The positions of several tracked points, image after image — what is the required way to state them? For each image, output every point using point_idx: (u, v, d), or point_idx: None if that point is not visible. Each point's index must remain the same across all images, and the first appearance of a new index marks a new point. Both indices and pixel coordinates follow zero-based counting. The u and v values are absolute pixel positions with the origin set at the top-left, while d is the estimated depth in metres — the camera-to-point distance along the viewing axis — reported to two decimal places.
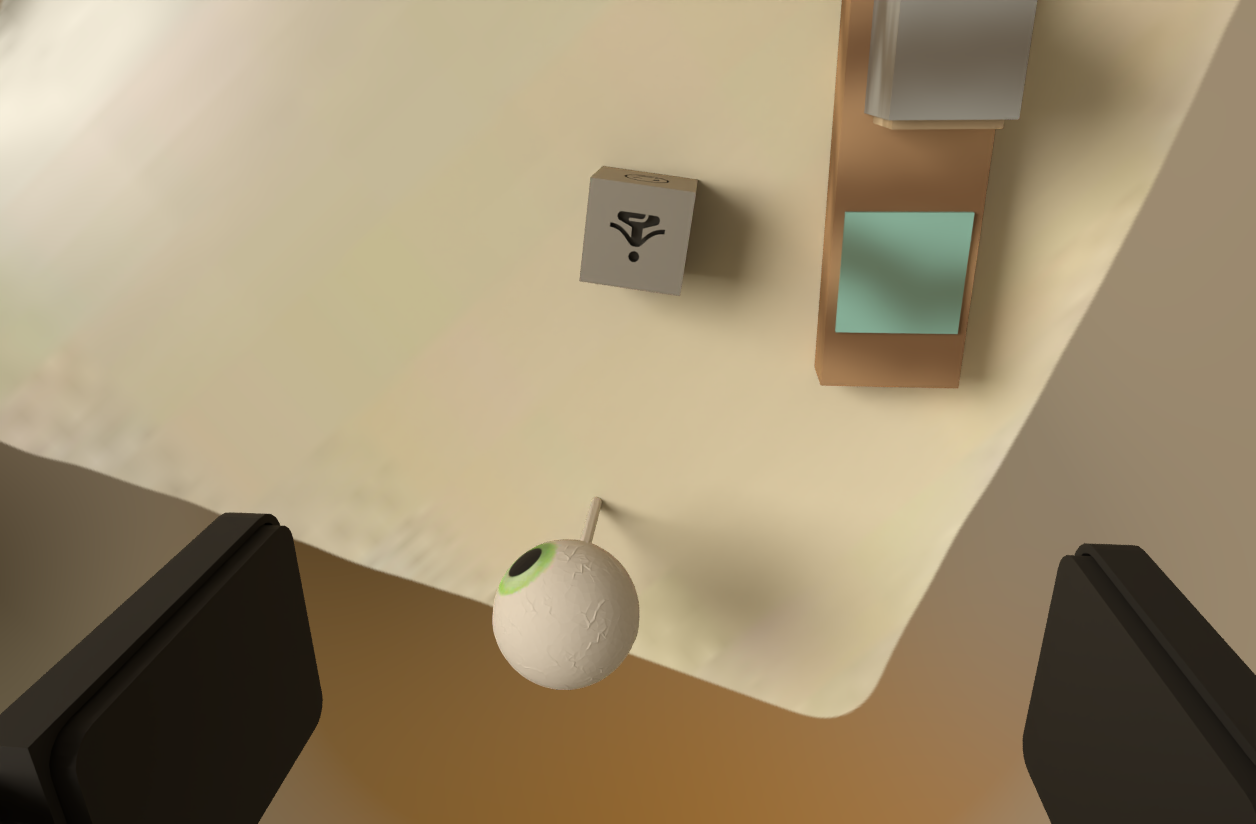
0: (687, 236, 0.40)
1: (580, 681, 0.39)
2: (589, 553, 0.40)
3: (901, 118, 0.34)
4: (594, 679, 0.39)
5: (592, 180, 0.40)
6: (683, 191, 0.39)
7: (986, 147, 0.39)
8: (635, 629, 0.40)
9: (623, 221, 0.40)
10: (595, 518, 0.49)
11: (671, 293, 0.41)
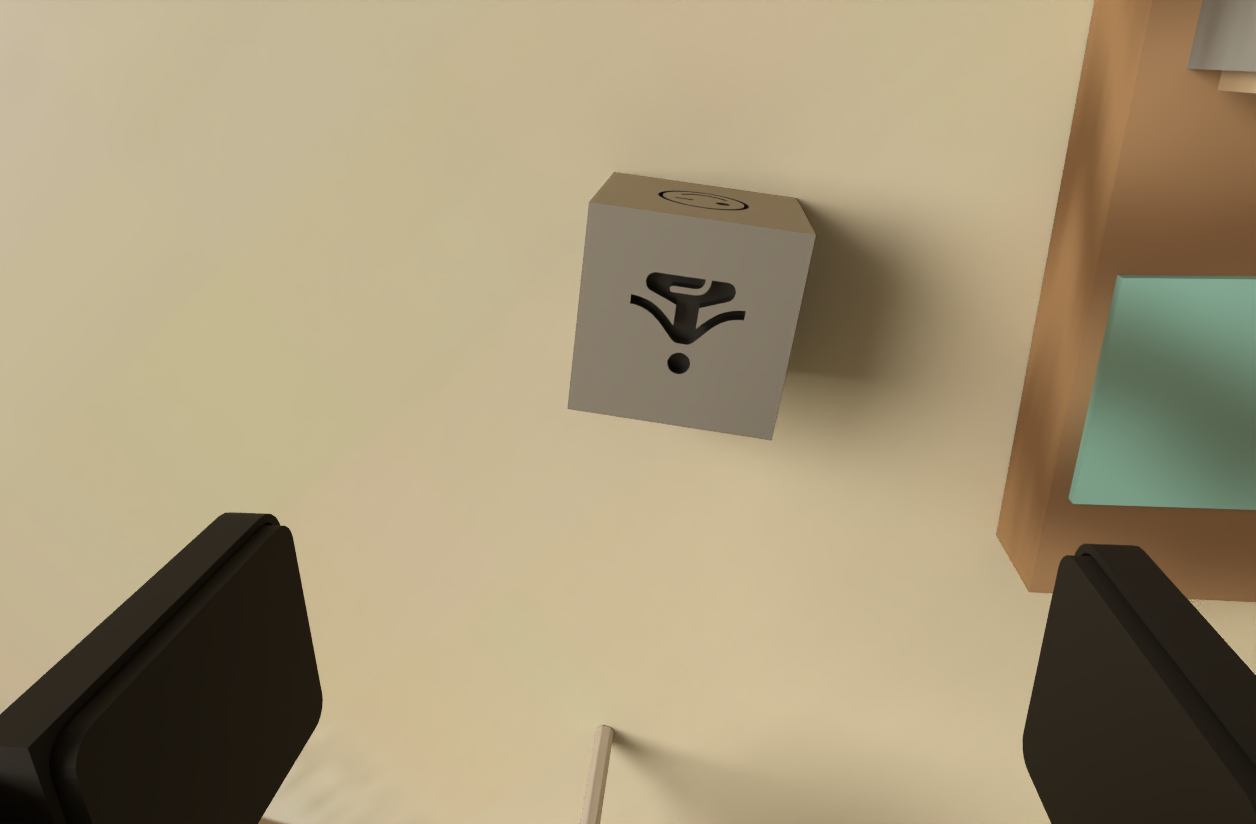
0: (792, 325, 0.19)
1: None
2: None
3: None
4: None
5: (593, 208, 0.19)
6: (788, 232, 0.18)
7: None
8: None
9: (658, 292, 0.19)
10: (603, 781, 0.29)
11: (754, 435, 0.20)
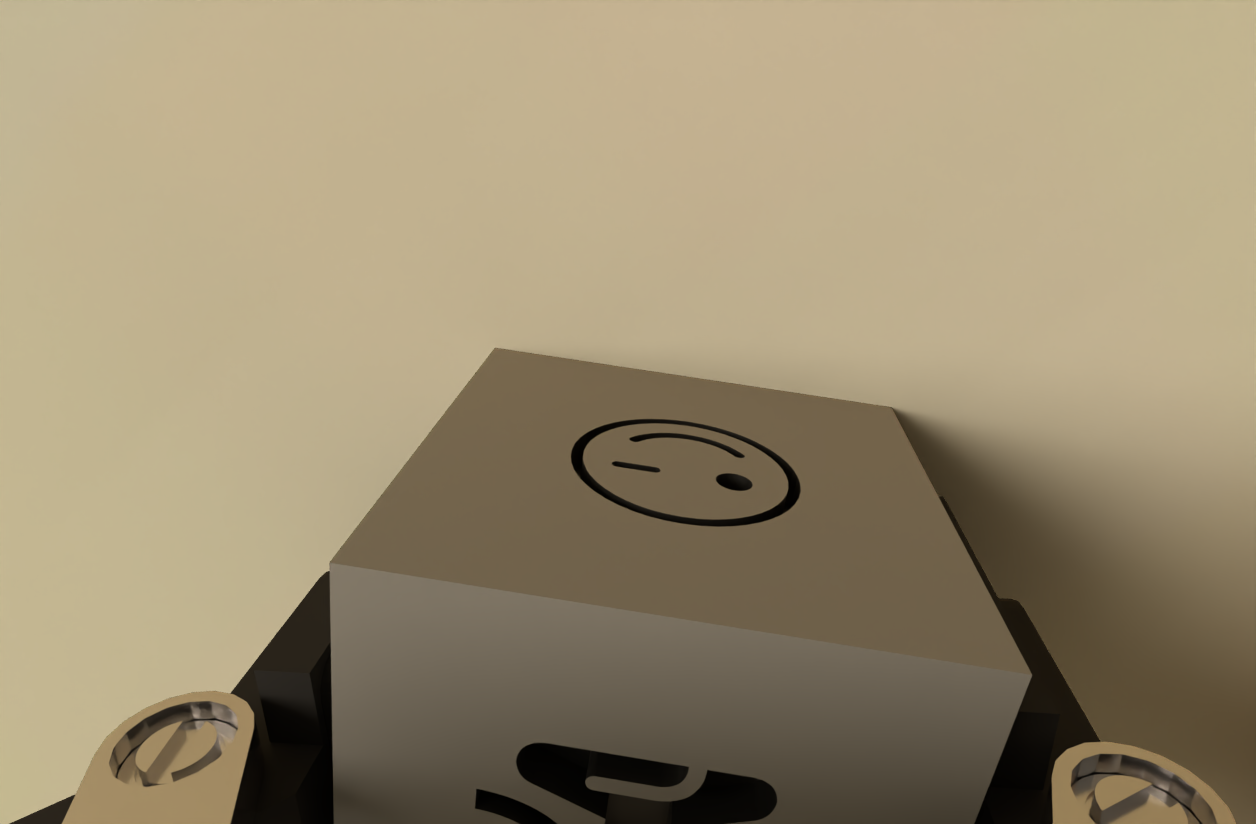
0: None
1: None
2: None
3: None
4: None
5: (343, 581, 0.06)
6: (943, 661, 0.06)
7: None
8: None
9: (555, 775, 0.07)
10: None
11: None
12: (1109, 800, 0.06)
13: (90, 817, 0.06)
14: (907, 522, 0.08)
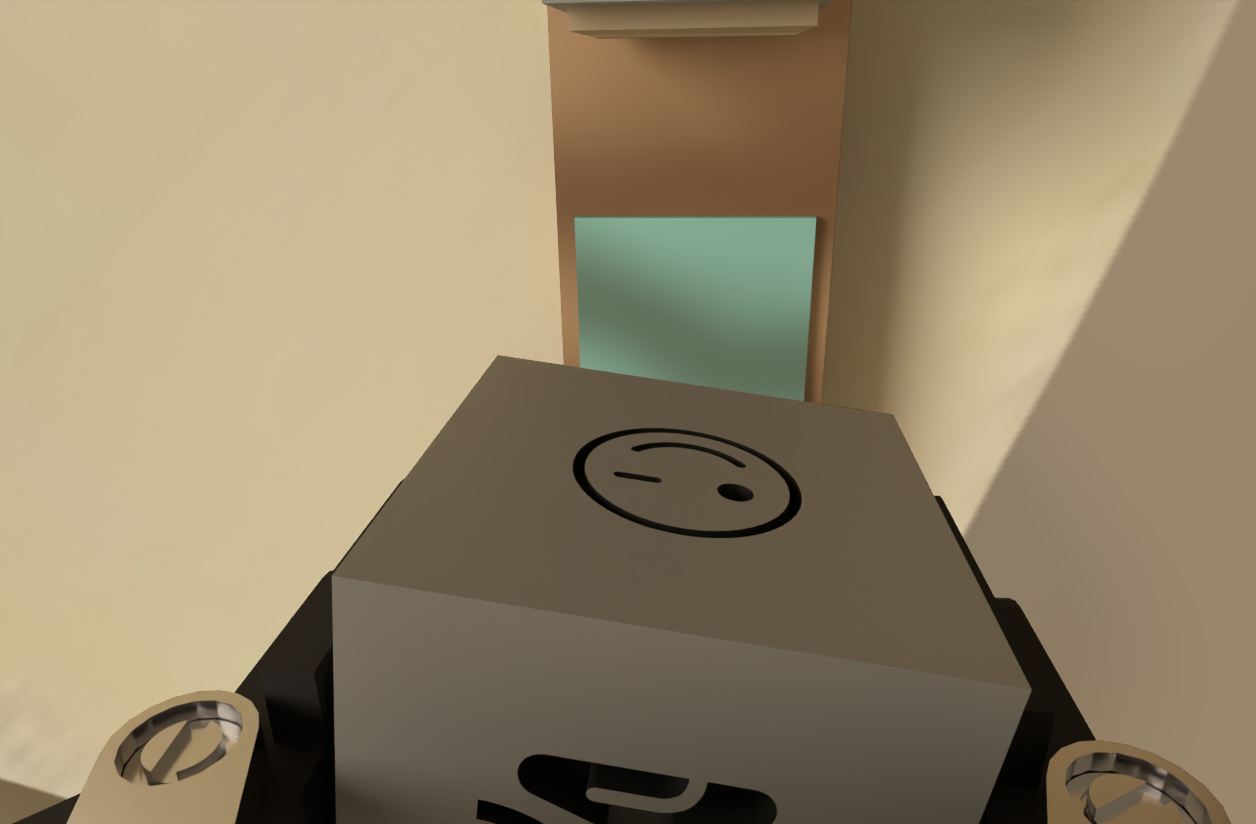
0: None
1: None
2: None
3: None
4: None
5: (346, 593, 0.06)
6: (943, 676, 0.06)
7: (832, 89, 0.20)
8: None
9: (556, 786, 0.07)
10: None
11: None
12: (1104, 799, 0.06)
13: (95, 816, 0.06)
14: (908, 533, 0.08)
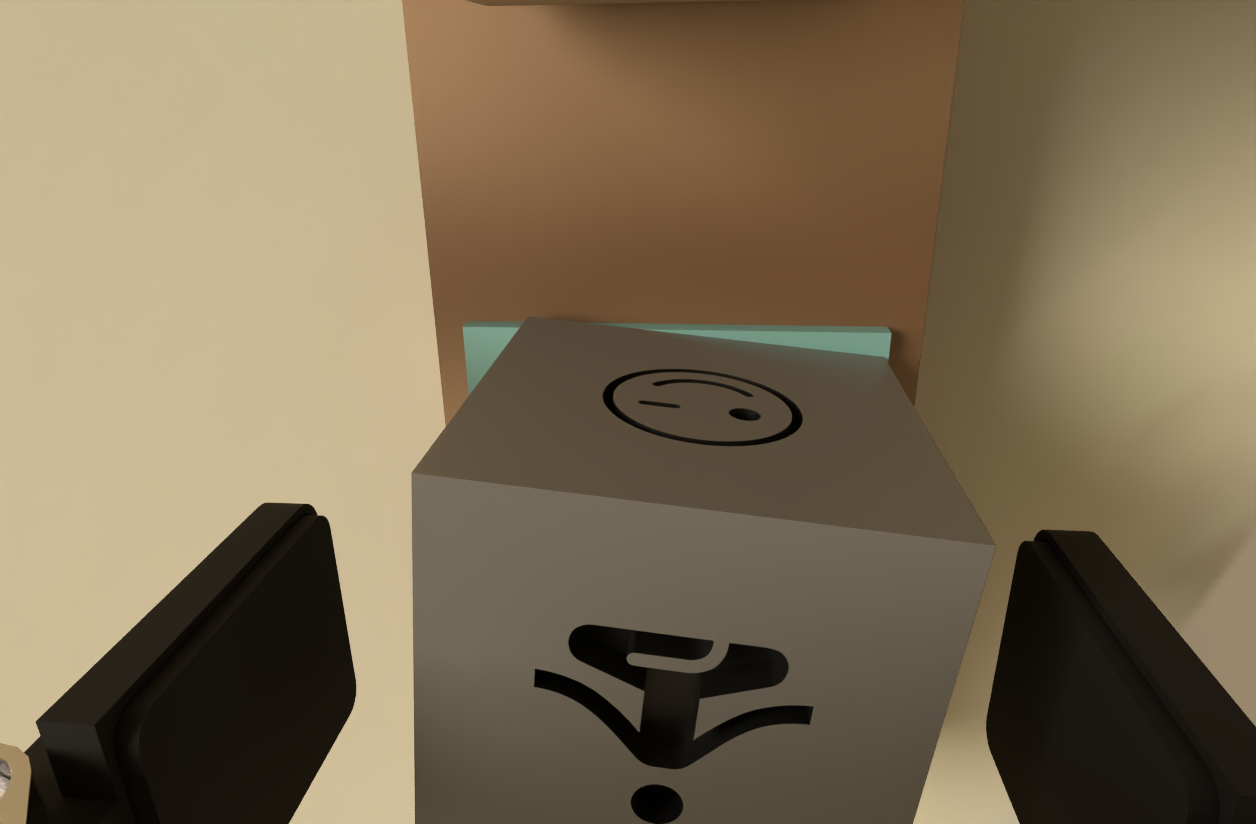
0: (930, 737, 0.08)
1: None
2: None
3: None
4: None
5: (423, 488, 0.07)
6: (922, 538, 0.07)
7: (928, 103, 0.11)
8: None
9: (600, 657, 0.08)
10: None
11: None
12: None
13: None
14: (895, 442, 0.09)
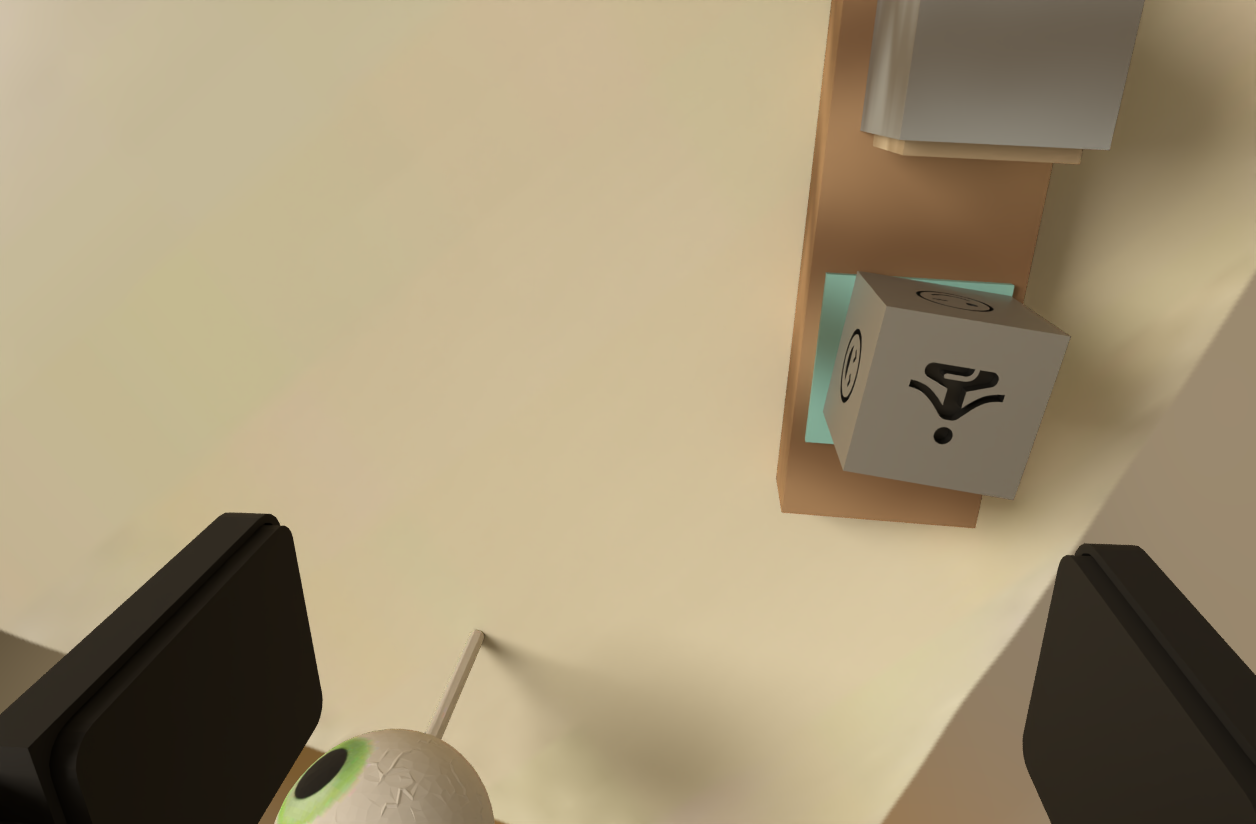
0: (1043, 407, 0.23)
1: None
2: (417, 766, 0.26)
3: (919, 138, 0.21)
4: None
5: (889, 311, 0.23)
6: (1047, 333, 0.23)
7: (1037, 191, 0.27)
8: None
9: (931, 378, 0.24)
10: (467, 666, 0.36)
11: (999, 495, 0.25)
12: None
13: None
14: (1028, 316, 0.25)
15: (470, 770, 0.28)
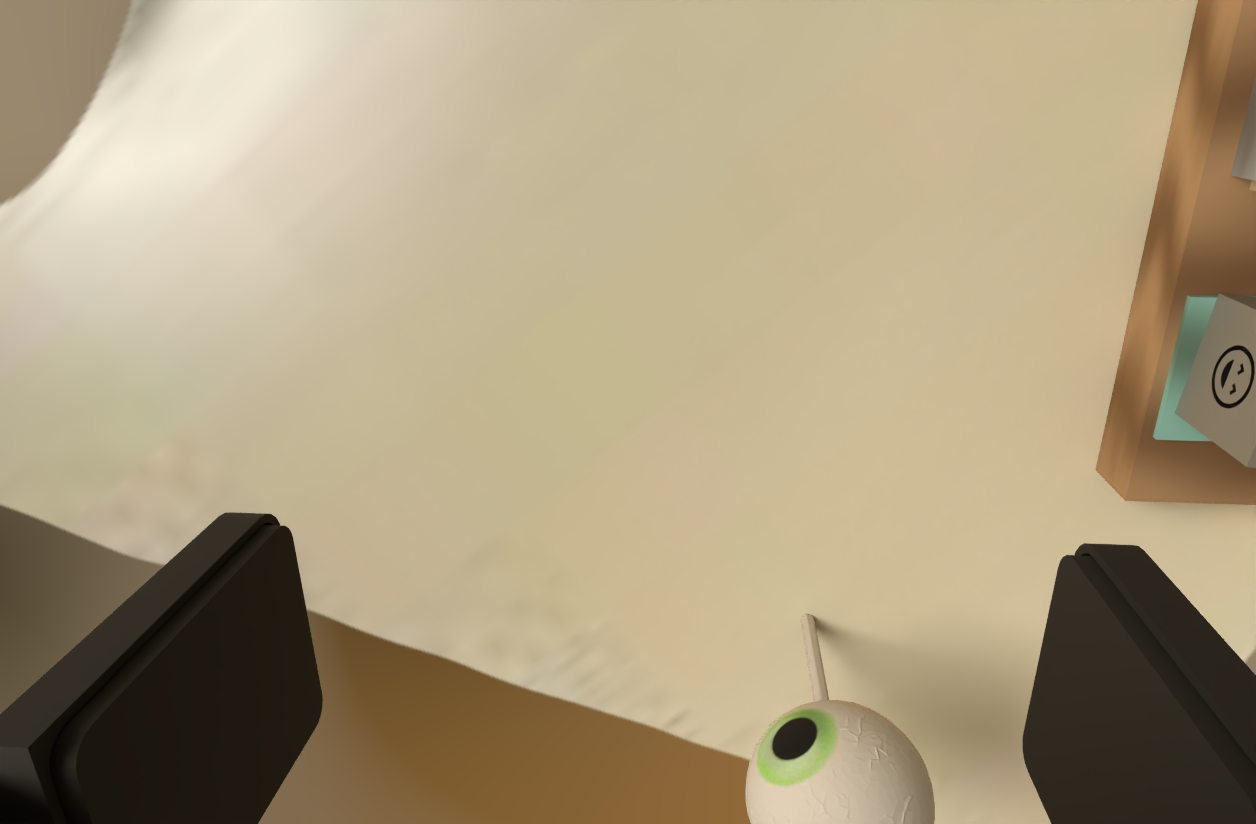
0: None
1: None
2: (876, 728, 0.32)
3: None
4: None
5: None
6: None
7: None
8: None
9: None
10: (818, 646, 0.41)
11: None
12: None
13: None
14: None
15: (901, 731, 0.33)
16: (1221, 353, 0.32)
